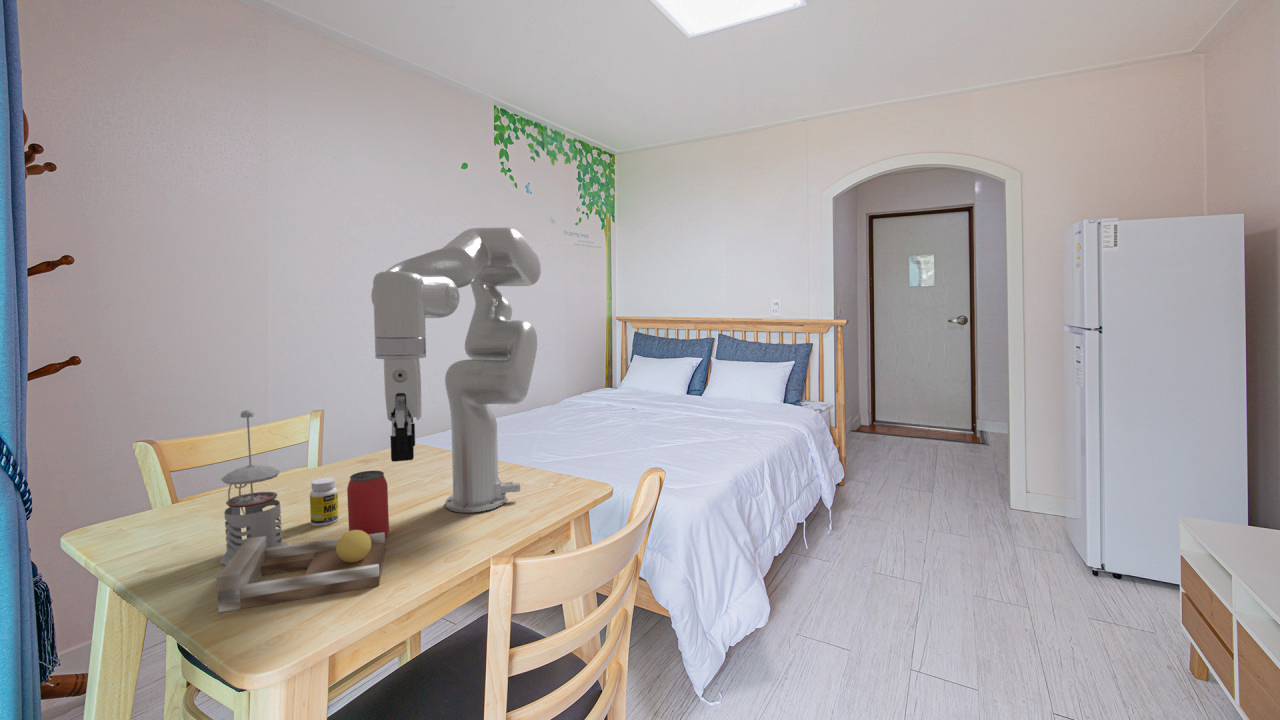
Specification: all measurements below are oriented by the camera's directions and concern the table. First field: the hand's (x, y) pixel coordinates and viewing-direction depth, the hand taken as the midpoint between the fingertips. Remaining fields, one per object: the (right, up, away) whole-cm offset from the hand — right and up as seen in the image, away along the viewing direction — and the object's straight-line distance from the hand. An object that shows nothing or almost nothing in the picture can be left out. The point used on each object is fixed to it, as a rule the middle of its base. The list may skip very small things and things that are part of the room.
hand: (403, 453), depth 88 cm
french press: (-28, -18, +5) cm, 34 cm away
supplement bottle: (-24, -17, +19) cm, 35 cm away
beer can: (-11, -18, +11) cm, 24 cm away
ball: (-7, -15, -2) cm, 16 cm away
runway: (-13, -19, -4) cm, 23 cm away
